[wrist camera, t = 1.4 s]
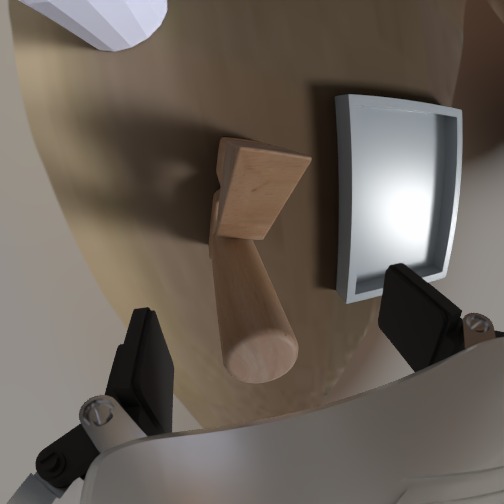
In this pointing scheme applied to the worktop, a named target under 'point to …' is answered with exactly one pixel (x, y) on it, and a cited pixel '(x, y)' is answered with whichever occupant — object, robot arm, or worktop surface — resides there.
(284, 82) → the worktop surface
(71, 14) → the soap bottle
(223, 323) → the wooden mallet
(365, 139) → the tray
